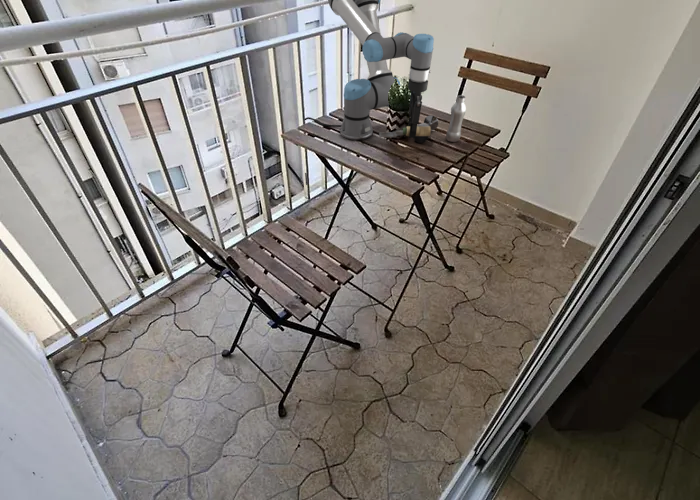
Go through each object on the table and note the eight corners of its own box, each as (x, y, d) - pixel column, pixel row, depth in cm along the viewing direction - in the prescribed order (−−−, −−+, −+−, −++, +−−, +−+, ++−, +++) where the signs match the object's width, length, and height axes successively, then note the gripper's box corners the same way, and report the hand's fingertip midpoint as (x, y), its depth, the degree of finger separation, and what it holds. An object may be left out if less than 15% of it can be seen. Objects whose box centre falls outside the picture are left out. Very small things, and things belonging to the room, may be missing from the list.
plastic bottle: (442, 139, 179) (449, 96, 166) (452, 135, 182) (460, 92, 169) (452, 145, 175) (461, 101, 162) (462, 140, 178) (472, 97, 165)
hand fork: (428, 133, 170) (429, 124, 167) (429, 137, 167) (431, 128, 164) (378, 133, 169) (379, 124, 167) (379, 137, 166) (380, 128, 164)
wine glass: (420, 118, 186) (408, 129, 175) (434, 111, 180) (424, 122, 170) (427, 133, 188) (416, 145, 178) (441, 127, 183) (431, 139, 173)
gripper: (431, 87, 146) (423, 144, 162) (424, 71, 158) (417, 126, 174) (412, 87, 146) (405, 144, 162) (406, 71, 158) (400, 126, 174)
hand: (411, 134), depth 168 cm, fingers closed on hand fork, 4 cm apart
